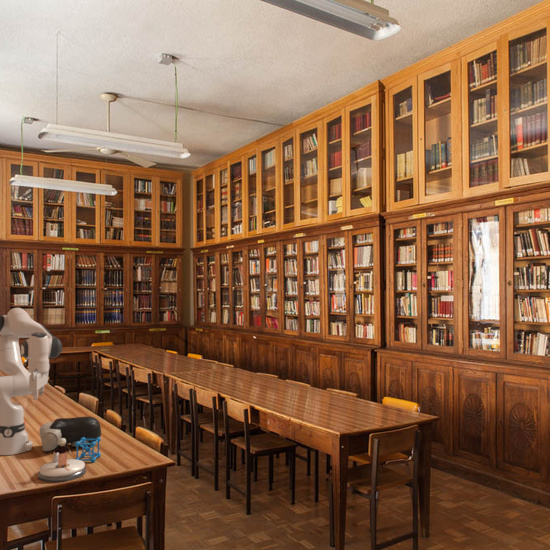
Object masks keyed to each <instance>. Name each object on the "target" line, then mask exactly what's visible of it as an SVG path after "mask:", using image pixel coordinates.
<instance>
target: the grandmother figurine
mask: <svg viewBox="0 0 550 550" xmlns="http://www.w3.org/2000/svg"><path fill="white" fill-rule="evenodd" d="M65 443H66V439H65V438H61V439H60V440H59V442H58V444H59V445H60V446H61V447H58V448H57V449H56V450H55V451H53V453H54V454H53V453H52V457H53V456H55V454H56V453H58V452H59V454H58V467H59V468H62V467H63V466H62V465H64V467H68V462H67V459H68V454H69V455H72V454H73V453H72V451H71V449H70V448H69V446H67V445H65ZM64 445H65V446H64Z"/></svg>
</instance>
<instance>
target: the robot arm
mask: <svg viewBox="0 0 550 550" xmlns="http://www.w3.org/2000/svg"><path fill="white" fill-rule="evenodd" d="M20 338H21V340H24V339H25V340H24V341H23V342H21V343H20V342H19V341H20ZM27 338H28V339H27ZM62 352H63V344H62V341H61V340H60V339H59V337H57V336H55V335H53V333H51V331H50V330H48V328H47V327H45V326H44V325H43V324H42V323H39V322H37V321H35V320H34V319H33V318H32V317H31V316H30V315H29V313H28V312H27V311H25V310H24V309H23V308H21V307H13V308H11V309H10V310H9V311H8V312H7V314H5V315H4V314H3V315H2V314H0V371H2V372H3V373H6V374H8V375H4V376H0V456H12V455H18V454H21V453H26V452H29V451H32V447H33V441H32V440H29V434H28V432H27V431H26V421H25V420H24V418H25V417H24V416H25V415H24V411H25V410H24V407H23V405H21V404H19V403H18V402H17V403H16V402H14V401H12V398H16V397H23V396H29V395H32V397H33V398H32V399H33V400H35V401H37V400H38V399H39V397H41V396H43V395H44V391H45V386H46V385H47V384H48V381H49V373H50V372H49V371H50V369H51V365H50V359H56V358H57V357H59V356H60V354H62ZM22 358H24V359H25V360H26V359H27V360H28V364H27V365H28V368H27V369H26V367H25V365H24V364H23V361H22Z"/></svg>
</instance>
